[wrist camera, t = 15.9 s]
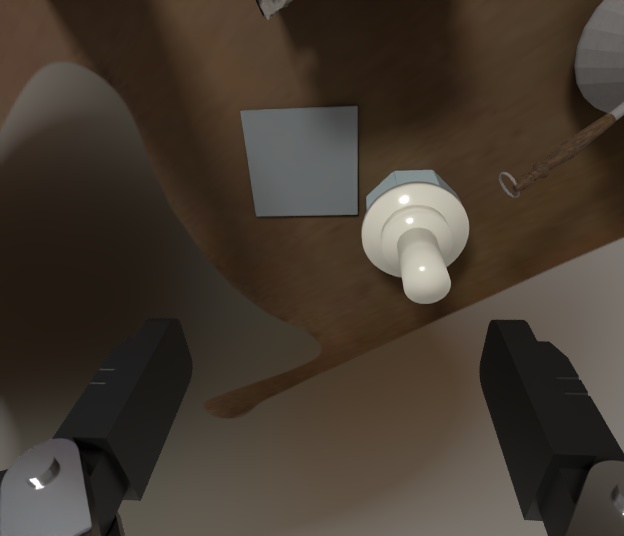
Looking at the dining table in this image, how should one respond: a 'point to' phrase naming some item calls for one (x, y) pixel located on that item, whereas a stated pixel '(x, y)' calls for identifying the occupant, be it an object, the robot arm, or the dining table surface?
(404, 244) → the lid
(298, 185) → the mat
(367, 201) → the bowl
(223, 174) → the dining table surface
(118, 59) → the dining table surface
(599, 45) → the coffee pot
